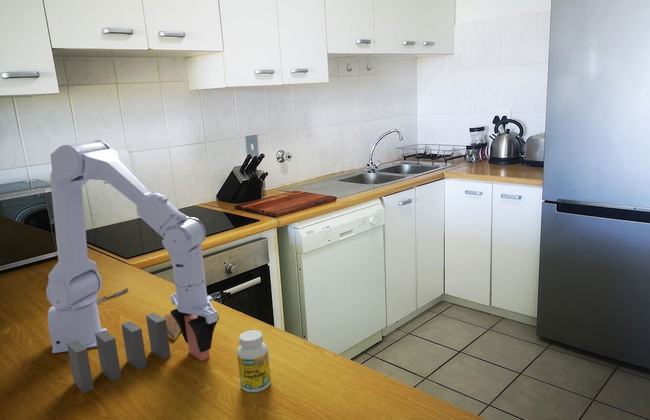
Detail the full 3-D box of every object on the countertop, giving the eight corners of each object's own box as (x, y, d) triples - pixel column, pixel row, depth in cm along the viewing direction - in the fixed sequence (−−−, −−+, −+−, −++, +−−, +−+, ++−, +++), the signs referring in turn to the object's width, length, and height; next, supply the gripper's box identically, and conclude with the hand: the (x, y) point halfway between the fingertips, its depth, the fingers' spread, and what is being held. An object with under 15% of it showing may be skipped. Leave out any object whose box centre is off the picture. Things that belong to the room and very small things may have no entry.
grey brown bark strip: (82, 305, 128) (89, 311, 125) (81, 301, 128) (88, 307, 125) (126, 290, 136) (134, 295, 133) (125, 286, 136) (133, 291, 133)
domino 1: (83, 393, 88) (76, 352, 86) (74, 382, 92) (66, 343, 90) (94, 389, 89) (86, 348, 87) (84, 378, 93) (77, 340, 91)
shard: (174, 343, 105) (173, 336, 105) (140, 343, 106) (139, 336, 106) (192, 320, 116) (191, 313, 115) (161, 321, 117) (160, 314, 116)
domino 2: (111, 381, 91) (105, 342, 90) (101, 371, 95) (94, 333, 93) (121, 377, 93) (115, 338, 91) (111, 367, 96) (104, 330, 94)
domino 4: (162, 359, 98) (157, 322, 96) (151, 351, 102) (145, 315, 100) (170, 356, 99) (165, 319, 97) (159, 348, 103) (154, 312, 101)
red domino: (201, 360, 97) (197, 323, 95) (188, 352, 100) (184, 316, 99) (209, 357, 98) (205, 320, 96) (196, 348, 102) (192, 312, 100)
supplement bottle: (269, 374, 91) (264, 326, 89) (272, 390, 86) (268, 339, 84) (239, 379, 90) (234, 330, 88) (241, 395, 85) (236, 345, 83)
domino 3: (138, 370, 95) (132, 332, 93) (127, 361, 98) (121, 324, 96) (147, 366, 96) (141, 328, 94) (136, 357, 99) (130, 321, 98)
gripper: (228, 284, 93) (235, 349, 96) (189, 268, 103) (197, 327, 107) (195, 295, 88) (203, 364, 92) (158, 277, 99) (166, 339, 102)
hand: (198, 345), depth 99 cm, fingers closed on red domino, 5 cm apart
